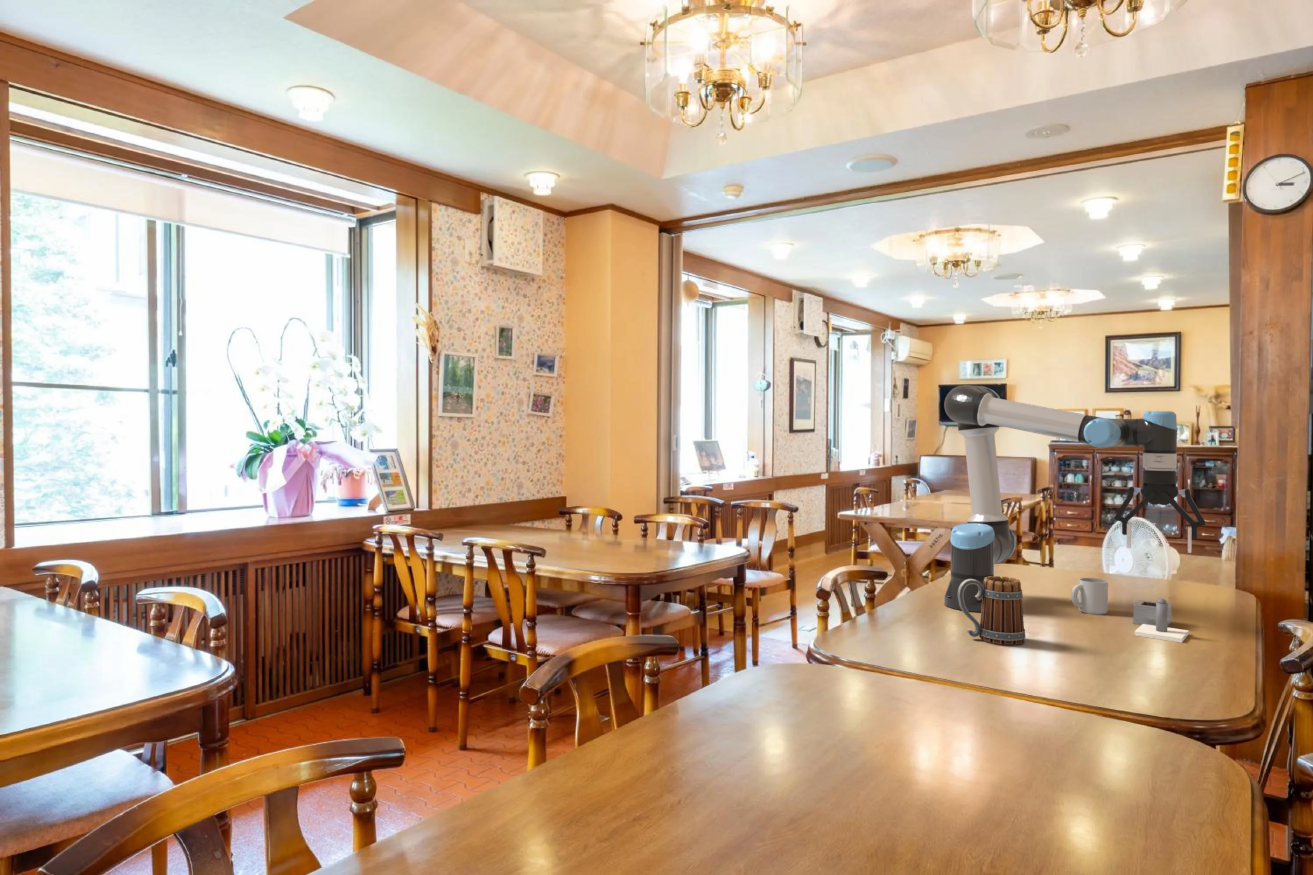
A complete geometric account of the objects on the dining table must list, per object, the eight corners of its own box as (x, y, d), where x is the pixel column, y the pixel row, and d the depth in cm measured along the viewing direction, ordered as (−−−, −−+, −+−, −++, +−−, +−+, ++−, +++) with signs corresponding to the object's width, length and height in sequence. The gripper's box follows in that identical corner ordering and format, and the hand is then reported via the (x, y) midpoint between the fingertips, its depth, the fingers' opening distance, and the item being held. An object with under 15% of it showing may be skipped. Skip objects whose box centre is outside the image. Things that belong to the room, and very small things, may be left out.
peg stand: (1134, 635, 198) (1134, 598, 198) (1142, 627, 205) (1142, 592, 205) (1181, 642, 191) (1182, 604, 191) (1188, 634, 199) (1188, 597, 199)
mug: (1016, 635, 198) (1016, 575, 198) (1032, 646, 188) (1032, 583, 188) (952, 633, 200) (952, 574, 200) (964, 644, 189) (964, 582, 189)
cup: (1113, 614, 220) (1113, 582, 219) (1079, 615, 219) (1079, 583, 219) (1097, 608, 227) (1097, 577, 227) (1063, 609, 226) (1064, 578, 226)
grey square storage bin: (1133, 623, 210) (1133, 604, 210) (1139, 618, 215) (1139, 600, 215) (1166, 628, 205) (1166, 609, 205) (1171, 622, 210) (1171, 604, 210)
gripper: (1103, 468, 213) (1103, 547, 213) (1217, 471, 198) (1216, 556, 199) (1107, 467, 219) (1106, 543, 219) (1217, 470, 204) (1216, 552, 205)
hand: (1158, 549), depth 209 cm, fingers open, 13 cm apart
